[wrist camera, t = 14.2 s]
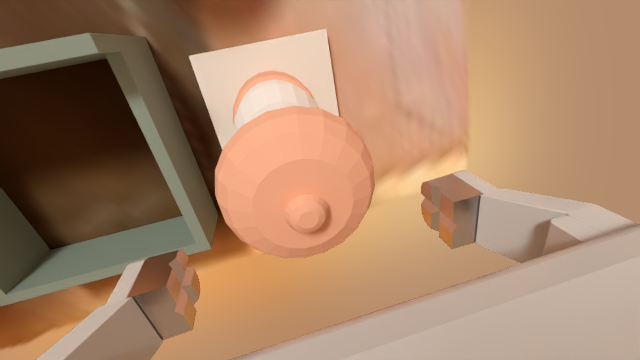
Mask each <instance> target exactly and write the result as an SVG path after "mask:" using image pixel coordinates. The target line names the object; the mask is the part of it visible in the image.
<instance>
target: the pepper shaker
mask: <svg viewBox="0 0 640 360" xmlns="http://www.w3.org/2000/svg"><path fill="white" fill-rule="evenodd" d="M233 124H234V135H233V137H232V138H231V139H230V140H229V141H228V142H227V144H226V145H225V146H224V148H223V150H222V153H221V156H220V158H219V161H218V164H217V166H216V169H215V196H216V199H217V202H218V204H219V207H220V209H221V212H222V214H223V217H224V220H225V222H226V224H227V225H228V226H229V227H230V228H231V230H232V231H233V232H234V233H235V234H236V235H237V236H238V237H239V239H240V240H242V241H244V242H245V243H247V244H249V245H250V246H252V247H254V248H256V249H257V250H259V251H261V252H263V253H265V254H270V255H274V256H278V257H282V258H306V257H309V256H313V255H316V254H320V253H324V252H326V251H328V250H329V249H331V248H333V247H335V246H337V245H338V244H340V243H342V242H343V241H344V240H345V239H346V238H347V237H348V236H349V235H350V234H351V233H353V232H354V231H355V230H356V229H357V227H358V225H359V224H360V222H361V220H362V219H363V217H364V215H365V214H366V212H367V210H368V208H369V206H370V203H371V199H372V195H373V191H374V187H375V181H374V170H373V162H372V159H371V156H370V154H369V152H368V149H367V147H366V145H365V143H364V141H363V139H362V137H361V135H360V134H359V133H358V132H357V131H356V130H355V129H354V128H353V127H352V126H351V125H350V124H349V123H348V122H347V121H346V120H345V119H342V118H340V117H338V116H336V115H334V114H332V113H330V112H328V111H325V110H323V109H321V108H319V107H318V105H317V103H316V101H315V100H314V98H313V96H312V94H311V92H310V91H309V90H308V89H307V88H306V87H305V86H304V85H303V84H302V83H301V82H300V81H299V80H298V79H296V78H295V77H293V76H291V75H289V74H287V73H285V72H280V71H273V70H270V71H265V72H260V73H257V74H256V75H254V76H252V77H251V78H249V79H248V80H247V81H246V82H245V83H244V84H243V86H242V87H241V88H240V90H239V92H238V95H237V98H236V100H235V103H234V106H233Z"/></svg>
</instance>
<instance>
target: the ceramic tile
mask: <svg viewBox="0 0 640 360" xmlns="http://www.w3.org/2000/svg"><path fill="white" fill-rule="evenodd" d="M189 59H190V61H191V64H192V67H193V70H194V73H195V75H196V78H197V81H198V84H199V86H200V89H201V92H202V95H203V98H204V100H205V103H206V106H207V109H208V111H209V114H210V117H211V120H212V123H213V125H214V128H215V131H216V134H217V137H218V139H219V142H220V145H221V148H222V150H223V148H224V146H225V145H226V144H227V142H228V141H229V140H230V139H231V138H232V137H233V135H234V124H233V106H234V103H235V100H236V98H237V95H238V92H239V90H240V88H241V87H242V86H243V84H244V83H245V82H246V81H247V80H248V79H249V78H251V77H252V76H254V75H256V74H257V73H260V72H265V71H270V70H273V71H280V72H285V73H287V74H289V75H291V76H293V77H295V78H296V79H298V80H299V81H300V82H301V83H302V84H303V85H304V86H305V87H306V88H307V89H308V90H309V91H310V92H311V94H312V96H313V98H314V100H315V101H316V103H317V105H318V107H319V108H321V109H323V110H325V111H328V112H330V113H332V114H334V115H336V116H338V117H339V113H338V106H337V99H336V93H335V86H334V79H333V72H332V66H331V59H330V52H329V45H328V38H327V32H326V29H322V30H317V31H312V32H307V33H302V34H297V35H292V36H287V37H282V38H277V39H272V40H267V41H261V42H256V43H251V44H246V45H241V46H236V47H231V48H226V49H221V50H216V51H211V52H206V53H201V54H196V55H191V56H189Z"/></svg>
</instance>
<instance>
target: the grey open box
mask: <svg viewBox="0 0 640 360" xmlns="http://www.w3.org/2000/svg"><path fill="white" fill-rule="evenodd" d="M102 59H107V60H108V62H109V64H110V66H111V68H112V70H113V72H114V74H115V76H116V78H117V80H118V83H119V85H120V87H121V89H122V91H123V93H124V95H125V97H126V99H127V101H128V103H129V105H130V107H131V109H132V112H133V114H134V116H135V118H136V120H137V122H138V124H139V126H140V128H141V130H142V132H143V134H144V136H145V138H146V140H147V143H148V145H149V147H150V149H151V151H152V153H153V155H154V157H155V159H156V161H157V163H158V165H159V167H160V169H161V171H162V174H163V176H164V178H165V180H166V182H167V184H168V186H169V188H170V190H171V192H172V194H173V196H174V198H175V200H176V202H177V205H178V207H179V209H180V211H181V213H182V215H183V216H180V217H176V218H173V219H169V220H165V221H161V222H157V223H153V224H149V225H145V226H142V227H138V228H134V229H130V230H126V231H122V232H118V233H114V234H111V235H107V236H103V237H99V238H95V239H91V240H87V241H83V242H79V243H76V244H72V245H68V246H64V247H60V248H56V249H52V250H50V248H49V247H48V246H47V245H46V243H45V242H44V241H43V240H42V238H41V237H40V236H39V235H38V233H37V232H36V231H35V230H34V228H33V227H32V226H31V224H30V223H29V222H28V221H27V219H26V218H25V217H24V216H23V214H22V213H21V212H20V211H19V209H18V208H17V207H16V206H15V204H14V203H13V202H12V201H11V199H10V198H9V197H8V196H7V194H6V193H5V192H4V191H3V189H2V188H1V187H0V306H5V305H8V304H12V303H16V302H19V301H23V300H27V299H30V298H34V297H38V296H41V295H45V294H49V293H52V292H56V291H60V290H63V289H67V288H71V287H74V286H78V285H82V284H85V283H89V282H93V281H96V280H100V279H104V278H107V277H111V276H115V275H118V274H122V273H123V272H124V270H125V269H126V267H127V265H128V264H130V263H132V262H135V261H138V260H142V259H145V258H149V257H153V256H157V255H161V254H165V253H169V252H173V251H177V250H180V249H181V250H183V251H185V253H186V255H187V256H188V255H192V254H195V253H199V252H203V251H206V250H210V249H211V248H212V243H213V239H214V234H215V229H216V224H217V219H218V213H217V210H216V208H215V205H214V203H213V201H212V198H211V196H210V193H209V191H208V188H207V186H206V184H205V181H204V179H203V176H202V174H201V172H200V169H199V167H198V164H197V162H196V159H195V157H194V155H193V152H192V150H191V147H190V145H189V142H188V140H187V138H186V135H185V133H184V130H183V128H182V125H181V123H180V121H179V118H178V116H177V113H176V111H175V109H174V106H173V104H172V101H171V99H170V96H169V94H168V92H167V89H166V87H165V84H164V82H163V79H162V77H161V75H160V72H159V70H158V67H157V65H156V63H155V60H154V58H153V55H152V53H151V50H150V48H149V46H148V43H147V41H146V38H145V37H139V36H125V35H112V34H98V33H85V34H80V35H75V36H69V37H64V38H58V39H53V40H47V41H42V42H36V43H31V44H26V45H20V46H15V47H9V48H4V49H0V79H4V78H9V77H14V76H19V75H24V74H29V73H34V72H40V71H45V70H50V69H55V68H60V67H65V66H71V65H76V64H81V63H86V62H91V61H96V60H102Z"/></svg>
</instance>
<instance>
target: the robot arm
mask: <svg viewBox="0 0 640 360" xmlns="http://www.w3.org/2000/svg"><path fill="white" fill-rule="evenodd" d="M421 194H422V195H423V196H424V197H425V199H424V200H423V202H422V204H421V208H422V214H423V217H424V220H425V222H426V223H427V225H428V226H429V227H430V228H431V229H434V230H436V231H439V237H440V238H441V239H442V240H443V241H444V242H445V243H446V244H447V245H448V246H449V247H450V248H451V249H453V248H457V247H460V246H464V245H467V244H471V243H475V242H476V244H478V245H480V246H483V247H485V248H487V249H490V250H492V251H494V252H497V253H499V254H501V255H503V256H506V257H508V258H510V259H513V260H515V261H517V262H520V263H521V264H518V265H515V266H512V267H509V268H506V269H503V270H500V271H497V272H494V273H491V274H488V275H485V276H482V277H479V278H476V279H473V280H470V281H466V282H464V283H460V284H457V285H454V286H451V287H448V288H445V289H442V290H439V291H436V292H433V293H430V294H427V295H424V296H421V297H418V298H415V299H412V300H408V301H405V302H402V303H399V304H397V305H393V306H390V307H387V308H384V309H381V310H378V311H375V312H372V313H369V314H366V315H363V316H360V317H357V318H354V319H351V320H348V321H345V322H342V323H339V324H336V325H333V326H330V327H327V328H324V329H321V330H318V331H315V332H312V333H309V334H306V335H303V336H300V337H297V338H294V339H291V340H288V341H285V342H281V343H279V344H276V345H273V346H269V347H266V348H263V349H260V350H257V351H254V352H251V353H249V354H245V355H242V356H239V357H236V358H233V359H230V360H640V224H639V225H638V224H636V223H634V222H632V221H630V220H628V219H625V218H623V217H621V216H619V215H617V214H615V213H613V212H611V211H608V210H606V209H604V208H602V207H600V206H598V205H595V204H590V203H584V202H579V201H573V200H567V199H561V198H555V197H549V196H544V195H538V194H532V193H526V192H520V191H515V190H510V189H500V190H499V189H497V188H495V187H494V186H492V185H491V184H489V183H487V182H485V181H484V180H482V179H480V178H478V177H477V176H475V175H473V174H471V173H470V172H468V171H464V170H462V171H458V172H455V173H452V174H449V175H446V176H443V177H440V178H436V179H433V180H430V181H426V182H423V183H422V186H421ZM188 261H189V258H188V256H187V255H186V253H185V251H183V250H181V249H180V250H177V251H173V252H169V253H165V254H161V255H157V256H153V257H149V258H145V259H142V260H138V261H135V262H132V263H130V264H128V265H127V267H126V269H125V270H124V272H123V274H122V276H121V278H120V279H119V281H118V283H117V285H116V287H115V288H114V290H113V292H112V294H111V296H110V297H109V299H108V301H107V303H106V305H102V306H99V307H98V308H97V309H96V310H95V311H93V312H92V313H91V314H90V315H89V316H87V317H86V318H85V319H84V320H83V321H82V322H80V323H79V324H78V325H77V326H76V327H74V328H73V329H72V330H71V331H70V332H68V333H67V334H66V335H65V336H64V337H62V338H61V339H60V340H59V341H58V342H56V343H55V344H54V345H53V346H52V347H51V348H49V349H48V350H47V351H46V352H45V353H43V354H42V355H41V356H40V357H39V358H37V359H36V360H150V359H151V358H152V356H153V355H154V354H155V352H156V351H157V349H158V348H159V346H160V345H161V344H162V342H163V341H162V340H165V339H167V338H171V337H173V336H176V335H179V334H182V333H185V332H188V331H191V330H192V329H193V325H194V321H195V316H196V309H195V308H194V306H193V305H194V304H195V302H197V300H198V299H199V294H200V284H199V279H198V276H197V273H196V271H195V269H193V268H191V267H189V266H187V265H188Z"/></svg>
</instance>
